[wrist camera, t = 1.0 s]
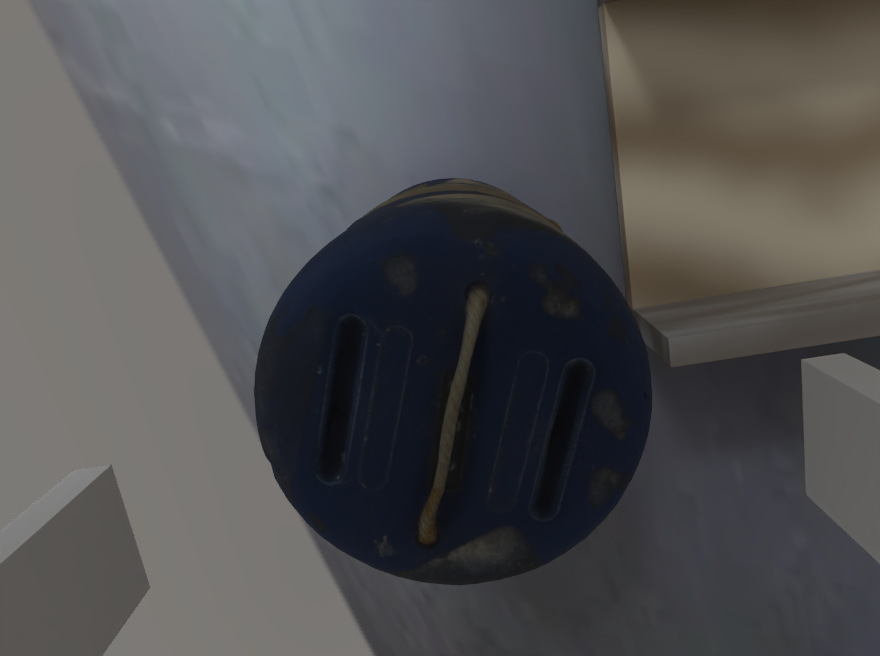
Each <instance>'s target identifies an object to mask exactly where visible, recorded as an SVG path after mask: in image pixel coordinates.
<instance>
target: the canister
mask: <svg viewBox="0 0 880 656" xmlns="http://www.w3.org/2000/svg"><path fill="white" fill-rule="evenodd" d="M254 397H255V410H256V421H257V427H258V432H259V437H260V441H261V444H262V448H263V451H264V453H265V456H266V457H267V459H268V460H269V462H270V463H271V465H272V469H273V473H274V476H275V479H276V481H277V482H278V484H279V486H280V488H281V489H282V491H283V493H284V494H285V496H286V498H287V499H288V501H289V502H290V503H291V504H292V506H293V507H294V508H295V509H296V510H297V512H298V513H299V514H300V515H301V516H302V517H303V519H304V520H305V521H306V522H307V524H309V525H310V526H311V527H312V528H313V529H314V530H315V531H316V532H317V533H318V534H319V535H320V536H322V537H323V538H324V539H325V540H327V541H328V542H330V543H331V544H332V545H334V546H335V547H336V548H338V549H340V550H341V551H343V552H345V553H347V554H348V555H350V556H352V557H353V558H355V559H357V560H359V561H361V562H363V563H365V564H367V565H369V566H371V567H373V568H375V569H378V570H381V571H384V572H386V573H389V574H392V575H395V576H398V577H402V578H406V579H411V580H415V581H420V582H427V583H437V584H449V585H467V584H477V583H483V582H488V581H494V580H499V579H503V578H507V577H511V576H515V575H518V574H521V573H525V572H527V571H530V570H533V569H536V568H538V567H540V566H542V565H545V564H547V563H549V562H550V561H552V560H554V559H555V558H557V557H559V556H560V555H562V554H564V553H565V552H567V551H568V550H570V549H571V548H572V547H574V546H575V545H577V544H578V543H579V542H581V541H582V540H583V539H585V538H586V537H587V536H588V535H589V534H590V533H591V532H592V531H593V530H594V529H595V528H596V527H597V526H598V525H599V524H600V523H601V522H602V521H603V520H604V519H605V518H606V517H607V516H608V514H609V513H610V512H611V511H612V510H613V508H614V507H615V506H616V504H617V503H618V501H619V500H620V498H621V496H622V495H623V493H624V491H625V489H626V487H627V485H628V484H629V482H630V481H631V479H632V477H633V475H634V473H635V471H636V469H637V466H638V464H639V461H640V458H641V455H642V453H643V450H644V447H645V443H646V440H647V436H648V432H649V425H650V418H651V411H652V389H651V374H650V366H649V360H648V355H647V351H646V347H645V344H644V341H643V338H642V335H641V332H640V329H639V326H638V324H637V322H636V320H635V318H634V316H633V314H632V312H631V310H630V308H629V306H628V304H627V302H626V300H625V299H624V297H623V295H622V294H621V292H620V291H619V289H618V288H617V286H616V285H615V284H614V282H613V281H612V279H611V278H610V277H609V276H608V275H607V273H606V272H605V271H604V270H603V269H602V268H601V267H600V266H599V264H598V263H597V262H596V261H595V260H594V259H593V258H592V257H591V256H590V255H589V254H588V253H587V252H586V251H584V250H583V249H582V248H581V247H580V246H579V245H578V244H577V243H575V242H574V241H573V240H572V239H570V238H569V237H568V236H567V235H566V234H564V233H563V231H562V230H561V228H560V226H559V225H558V224H557V223H556V222H554V221H552V220H550V219H547V218H545V217H544V216H542V215H541V214H540V213H538V212H536V211H535V210H533V209H532V208H530V207H528V206H527V205H525V204H524V203H522V202H520V201H519V200H517V199H516V198H515V197H513V196H511V195H510V194H508V193H506V192H504V191H502V190H500V189H498V188H496V187H494V186H491V185H488V184H485V183H482V182H478V181H474V180H468V179H459V178H451V179H438V180H432V181H427V182H423V183H420V184H417V185H414V186H412V187H410V188H408V189H405V190H403V191H401V192H400V193H398V194H396V195H395V196H393V197H392V198H390V199H389V200H387V201H385V202H384V203H382V204H380V205H379V206H377V207H376V208H374V209H373V210H371V211H370V212H368V213H367V214H366V215H364V216H363V217H362V218H360V219H358V220H357V221H356V222H354V223H353V224H352V225H351V226H350V227H349V228H348V229H347V230H346V231H345V232H343V233H342V234H341V235H339V236H338V237H337V238H335V239H334V240H332V241H331V242H330V243H328V244H327V245H326V246H325V247H324V248H323V249H321V250H320V251H319V252H318V253H317V254H316V255H315V256H314V257H313V258H312V259H311V260H310V261H309V262H308V263H307V264H306V265H305V266H304V267H303V268H302V269H301V271H300V272H299V273H298V274H297V275H296V277H295V278H294V279H293V280H292V281H291V283H290V284H289V286H288V287H287V288H286V290H285V291H284V293H283V294H282V296H281V298H280V299H279V301H278V303H277V305H276V307H275V309H274V310H273V312H272V314H271V316H270V319H269V321H268V323H267V326H266V329H265V332H264V335H263V338H262V341H261V345H260V349H259V353H258V359H257V365H256V371H255V387H254Z"/></svg>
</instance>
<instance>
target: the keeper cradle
mask: <svg viewBox="0 0 880 656" xmlns="http://www.w3.org/2000/svg"><path fill="white" fill-rule="evenodd" d="M597 2H598V13H599V23H600V33H601V43H602V53H603V63H604V74H605V84H606V94H607V104H608V114H609V124H610V134H611V145H612V155H613V165H614V175H615V185H616V195H617V206H618V216H619V226H620V236H621V246H622V256H623V267H624V277H625V287H626V297H627V304H628V306H629V308H630V310H631V312H632V314H633V316H634V318H635V320H636V322H637V324H638V326H639V329H640V332H641V335H642V338H643V341H644V343H645V344H646V345H648V346H649V347H650V348H651V349H652V350H653V351H654V352H655V353H656V354H657V355H658V356H659V357H660V358H661V359H662V360H663V361H664V362H665V363H666V364H667V365H668V366H669V367H670V368H673V367H679V366H686V365H692V364H699V363H705V362H712V361H719V360H725V359H732V358H738V357H745V356H751V355H758V354H764V353H771V352H777V351H784V350H790V349H797V348H803V347H810V346H816V345H823V344H829V343H836V342H842V341H849V340H855V339H862V338H869V337H875V336H880V0H597Z"/></svg>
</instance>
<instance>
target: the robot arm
mask: <svg viewBox="0 0 880 656" xmlns="http://www.w3.org/2000/svg"><path fill="white" fill-rule="evenodd" d="M801 369H802V397H803V425H804V454H805V482H806V495H807V496H808V497H809V498H810V499H811V500H812V501H813V502H814V503H815V504H816V505H817V506H819V507H820V508H821V509H822V510H823V511H824V512H825V513H826V514H827V515H828V516H829V517H830V518H831V519H832V520H833V521H835V522H836V523H837V524H838V525H839V526H840V527H841V528H842V529H843V530H844V531H845V532H846V533H847V534H848V535H850V536H851V537H852V538H853V539H854V540H855V541H856V542H857V543H858V544H859V545H860V546H861V547H862V548H863V549H864V550H866V551H867V552H868V553H869V554H870V555H871V556H872V557H873V558H874V559H875V560H876V561H877V562H878V563H879V564H880V370H878V369H876V368H874V367H872V366H870V365H868V364H866V363H864V362H862V361H860V360H858V359H856V358H853V357H851V356H849V355H847V354H845V353H840V354H834V355H827V356H820V357H814V358H807V359H801ZM149 588H150V585H149V582H148V579H147V576H146V572H145V569H144V566H143V563H142V560H141V557H140V554H139V550H138V547H137V544H136V541H135V538H134V534H133V532H132V528H131V525H130V522H129V519H128V516H127V512H126V509H125V507H124V503H123V500H122V497H121V494H120V490H119V487H118V485H117V481H116V478H115V475H114V472H113V469H112V465H106V466H99V467H93V468H86V469H80V470H74V471H72V472H71V473H70V474H69V475H67V476H66V477H65V478H64V479H63V480H61V481H60V482H59V483H58V484H56V485H55V486H54V487H53V488H51V489H50V490H49V491H48V492H47V493H45V494H44V495H43V496H42V497H41V498H39V499H38V500H37V501H36V502H34V503H33V504H32V505H31V506H30V507H28V508H27V509H26V510H25V511H23V512H22V513H21V514H20V515H19V516H17V517H16V518H15V519H14V520H12V521H11V522H10V523H9V524H8V525H6V526H5V527H4V528H3V529H2V530H0V656H102V655H103V654H104V652H105V651H106V650H107V648H108V647H109V645H110V644H111V642H112V641H113V640H114V638H115V636H116V635H117V634H118V633H119V631H120V630H121V628H122V627H123V625H124V624H125V623H126V621H127V619H128V618H129V617H130V615H131V614H132V613H133V611H134V610H135V608H136V607H137V606H138V604H139V602H140V601H141V600H142V598H143V597H144V596H145V594H146V593H147V591H148V590H149Z"/></svg>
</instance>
